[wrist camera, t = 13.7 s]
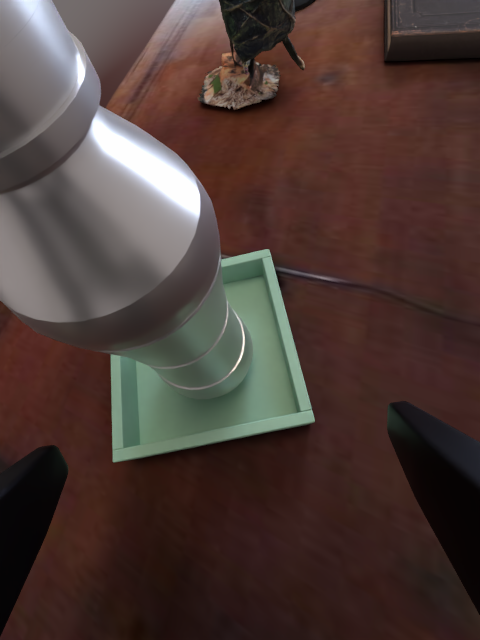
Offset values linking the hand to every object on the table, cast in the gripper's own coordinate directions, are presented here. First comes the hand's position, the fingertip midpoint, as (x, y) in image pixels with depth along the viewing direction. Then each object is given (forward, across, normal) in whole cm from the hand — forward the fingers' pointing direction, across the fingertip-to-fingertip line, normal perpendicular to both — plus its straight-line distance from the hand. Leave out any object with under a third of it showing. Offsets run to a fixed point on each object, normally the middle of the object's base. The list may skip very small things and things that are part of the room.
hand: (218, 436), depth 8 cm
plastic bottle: (+13, +3, +5) cm, 14 cm away
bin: (+14, +3, +5) cm, 15 cm away
